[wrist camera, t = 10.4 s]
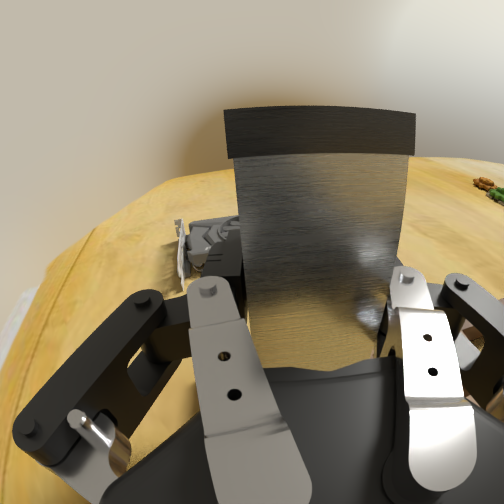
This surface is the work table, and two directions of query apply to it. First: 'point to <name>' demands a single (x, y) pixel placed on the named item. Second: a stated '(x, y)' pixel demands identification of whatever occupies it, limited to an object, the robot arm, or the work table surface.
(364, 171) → the peg
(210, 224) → the graphics card
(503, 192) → the gear puzzle
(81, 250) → the work table surface
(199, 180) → the work table surface
